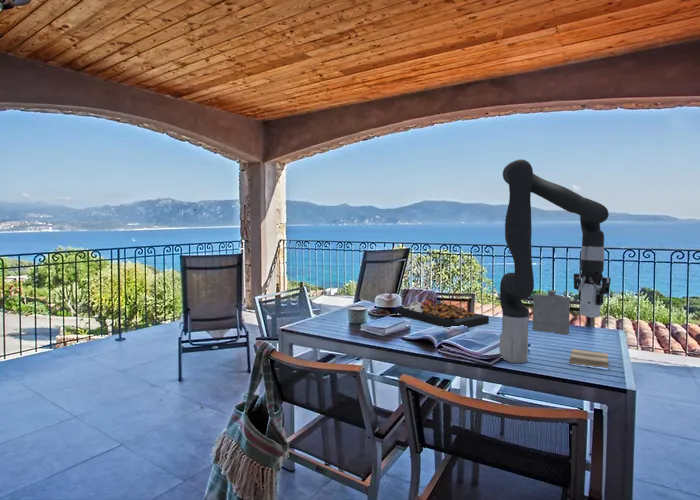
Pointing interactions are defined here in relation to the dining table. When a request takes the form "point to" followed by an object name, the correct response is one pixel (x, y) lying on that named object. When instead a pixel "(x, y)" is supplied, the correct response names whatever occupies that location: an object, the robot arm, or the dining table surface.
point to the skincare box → (589, 301)
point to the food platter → (442, 314)
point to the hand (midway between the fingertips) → (590, 303)
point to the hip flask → (551, 313)
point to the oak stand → (589, 358)
